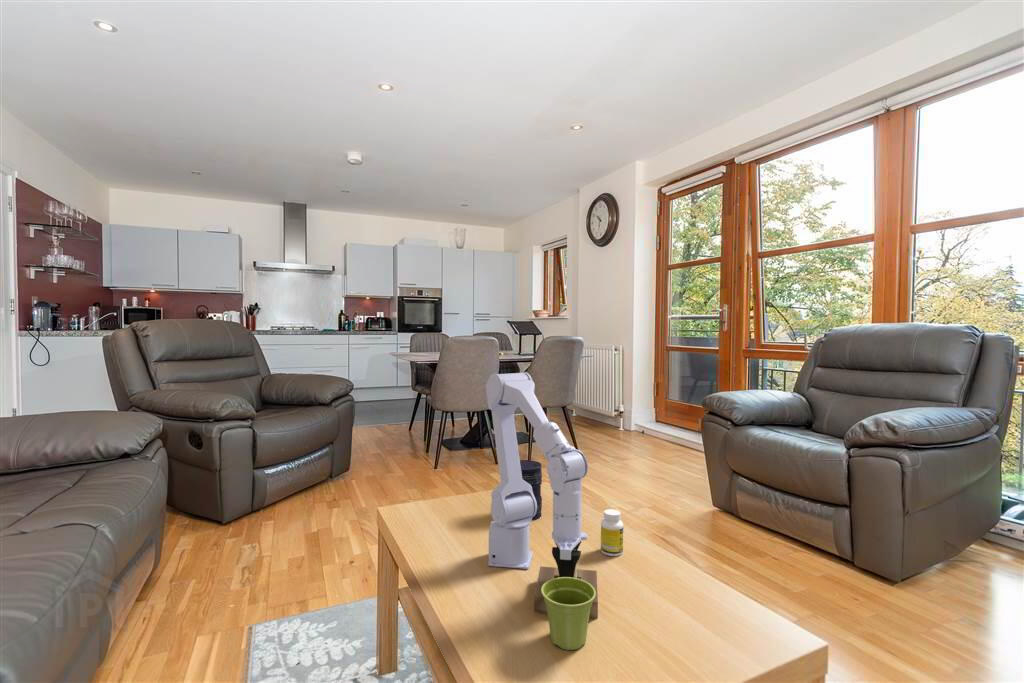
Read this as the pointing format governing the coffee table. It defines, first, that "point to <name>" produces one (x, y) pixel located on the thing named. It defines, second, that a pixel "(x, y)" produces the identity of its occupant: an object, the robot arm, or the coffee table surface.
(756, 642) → the coffee table surface
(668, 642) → the coffee table surface
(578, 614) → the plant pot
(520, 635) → the coffee table surface
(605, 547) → the supplement bottle
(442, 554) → the coffee table surface
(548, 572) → the socket block
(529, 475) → the storage jar
